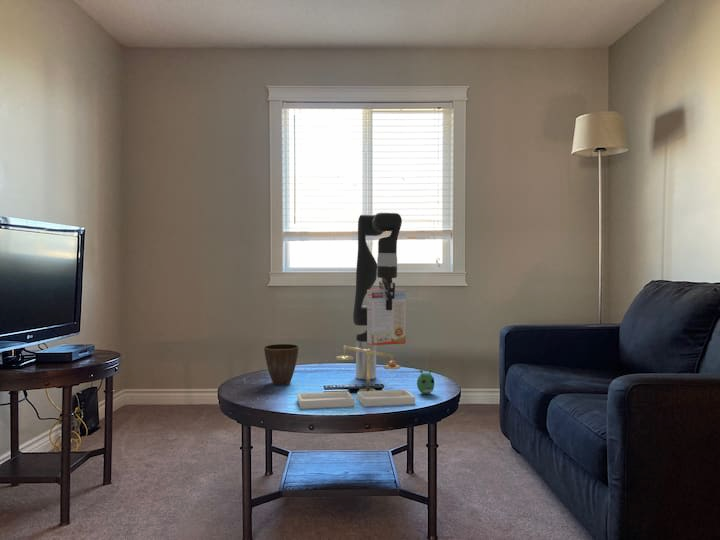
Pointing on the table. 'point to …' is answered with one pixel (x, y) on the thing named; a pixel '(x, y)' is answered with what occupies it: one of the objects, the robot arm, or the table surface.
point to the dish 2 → (385, 397)
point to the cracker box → (386, 318)
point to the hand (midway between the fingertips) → (386, 309)
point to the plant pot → (281, 362)
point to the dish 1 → (325, 399)
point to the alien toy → (425, 382)
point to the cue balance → (390, 363)
